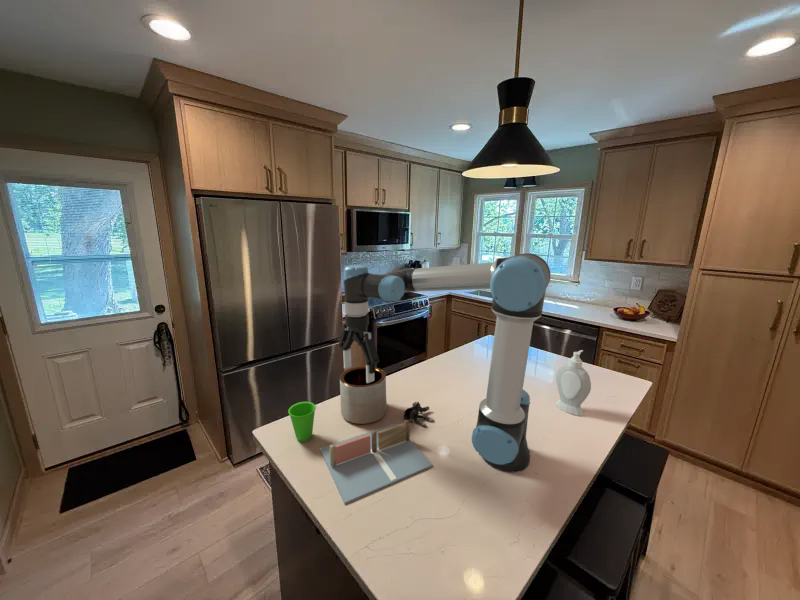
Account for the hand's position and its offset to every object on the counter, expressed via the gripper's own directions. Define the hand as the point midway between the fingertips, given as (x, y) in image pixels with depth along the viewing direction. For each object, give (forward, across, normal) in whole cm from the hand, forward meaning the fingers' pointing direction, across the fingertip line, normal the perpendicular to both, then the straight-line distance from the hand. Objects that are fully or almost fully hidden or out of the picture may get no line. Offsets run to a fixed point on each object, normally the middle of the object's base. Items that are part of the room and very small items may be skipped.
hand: (358, 374), depth 108 cm
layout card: (+22, -13, +4) cm, 26 cm away
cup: (+23, +11, +16) cm, 30 cm away
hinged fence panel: (+21, -10, +10) cm, 26 cm away
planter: (+23, +10, -8) cm, 26 cm away
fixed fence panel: (+22, -13, -4) cm, 26 cm away
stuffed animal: (+23, -6, -22) cm, 33 cm away
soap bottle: (+22, -43, -72) cm, 87 cm away
